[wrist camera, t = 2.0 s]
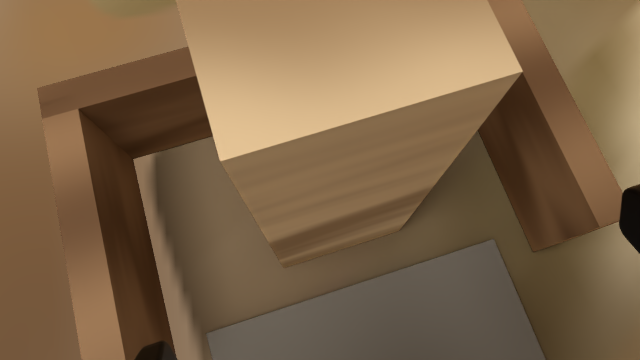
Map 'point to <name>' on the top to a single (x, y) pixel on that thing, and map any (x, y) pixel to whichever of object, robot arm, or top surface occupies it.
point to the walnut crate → (193, 124)
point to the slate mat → (398, 318)
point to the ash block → (343, 107)
